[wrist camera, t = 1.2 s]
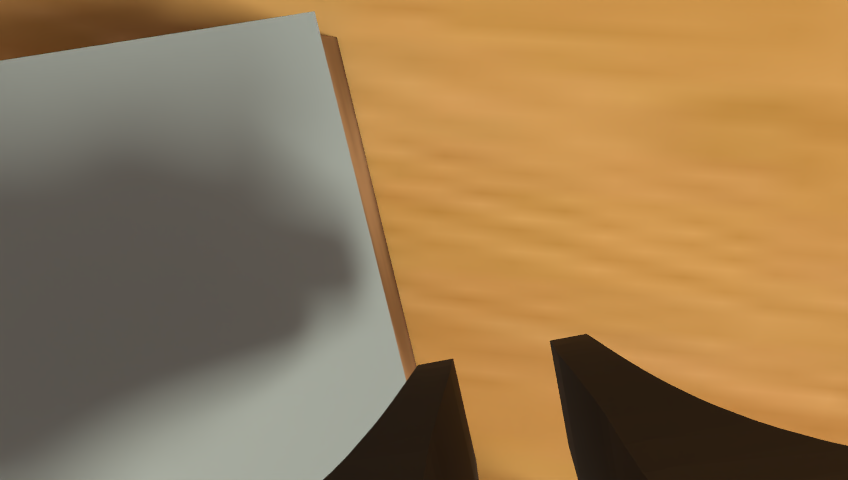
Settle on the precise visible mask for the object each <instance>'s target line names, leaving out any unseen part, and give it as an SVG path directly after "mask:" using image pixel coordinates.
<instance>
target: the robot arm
mask: <svg viewBox="0 0 848 480" xmlns="http://www.w3.org/2000/svg"><path fill="white" fill-rule="evenodd" d="M550 344H551V350H552V355H553V361H554V366H555V372H556V377H557V383H558V388H559V394H560V399H561V405H562V411H563V416H564V422H565V427H566V433H567V438H568V444H569V448H570V452H571V456H572V459H573V463H574V466H575V470H576V474H577V477H578V480H848V446H846V445H841V444H837V443H833V442H828V441H824V440H820V439H816V438H813V437H809V436H806V435H802V434H798V433H795V432H791V431H787V430H784V429H780V428H777V427H774V426H771V425H767V424H764V423H761V422H758V421H755V420H752V419H749V418H747V417H744V416H742V415H739V414H736V413H734V412H731V411H728V410H726V409H723V408H720V407H718V406H715V405H713V404H710V403H708V402H706V401H703V400H701V399H699V398H697V397H695V396H693V395H691V394H688V393H686V392H684V391H682V390H680V389H678V388H676V387H674V386H672V385H670V384H668V383H666V382H664V381H662V380H661V379H659V378H657V377H655V376H653V375H651V374H650V373H648V372H646V371H644V370H643V369H641V368H639V367H638V366H636V365H634V364H633V363H631V362H629V361H628V360H626V359H624V358H623V357H621V356H620V355H618V354H617V353H615V352H613V351H612V350H610V349H609V348H607V347H606V346H604V345H603V344H601V343H600V342H598V341H597V340H595V339H594V338H592V337H591V336H589V335H587V334H584V335H578V336H573V337H568V338H562V339H557V340H551V341H550ZM323 480H478V472H477V464H476V458H475V454H474V450H473V445H472V441H471V436H470V432H469V427H468V423H467V419H466V414H465V410H464V405H463V401H462V396H461V392H460V388H459V383H458V379H457V374H456V370H455V365H454V361H453V359H449V360H443V361H438V362H433V363H427V364H422V365H418V366H417V367H416V369H415V370H414V371H413V373H412V374H411V375H410V377H409V378H408V380H407V381H406V382H405V384H404V385H403V387H402V388H401V389H400V391H399V392H398V394H397V395H396V397H395V398H394V399H393V401H392V402H391V404H390V405H389V406H388V408H387V409H386V410H385V411H384V413H383V414H382V415H381V417H380V418H379V419H378V421H377V422H376V423H375V424H374V425H373V427H372V428H371V429H370V430H369V431H368V432H367V434H366V435H365V436H364V437H363V438H362V439H361V441H360V442H359V443H358V444H357V445H356V446H355V447H354V449H353V450H352V451H351V452H350V453H349V454H348V455H347V456H346V458H345V459H344V460H343V461H342V462H341V463H340V464H339V465H338V466H337V467H336V468H335V469H334V470H333V471H332V472H331V473H330V474H328V475H327V476H326V477H325V478H324V479H323Z"/></svg>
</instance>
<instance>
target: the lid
mask: <svg viewBox="0 0 848 480" xmlns="http://www.w3.org/2000/svg"><path fill="white" fill-rule="evenodd" d="M405 382H406V378H405V374H404V370H403V366H402V362H401V358H400V354H399V350H398V346H397V342H396V338H395V334H394V330H393V326H392V322H391V317H390V313H389V309H388V305H387V301H386V297H385V293H384V289H383V285H382V281H381V277H380V273H379V269H378V265H377V261H376V257H375V253H374V249H373V245H372V241H371V237H370V233H369V229H368V225H367V221H366V217H365V213H364V209H363V205H362V201H361V197H360V193H359V189H358V185H357V181H356V177H355V173H354V169H353V165H352V161H351V157H350V152H349V148H348V144H347V140H346V136H345V132H344V128H343V124H342V120H341V116H340V112H339V108H338V104H337V100H336V96H335V92H334V88H333V84H332V80H331V76H330V72H329V68H328V64H327V60H326V56H325V52H324V48H323V44H322V40H321V36H320V32H319V28H318V24H317V20H316V16H315V12H308V13H301V14H295V15H289V16H282V17H276V18H269V19H263V20H257V21H250V22H244V23H238V24H231V25H225V26H218V27H212V28H206V29H199V30H193V31H187V32H180V33H174V34H167V35H161V36H155V37H148V38H142V39H136V40H129V41H123V42H116V43H110V44H104V45H97V46H91V47H85V48H78V49H72V50H65V51H59V52H53V53H46V54H40V55H33V56H27V57H21V58H14V59H8V60H2V61H0V480H323V479H324V478H325V477H326V476H327V475H328V474H330V473H331V472H332V471H333V470H334V469H335V468H336V467H337V466H338V465H339V464H340V463H341V462H342V461H343V460H344V459H345V458H346V456H347V455H348V454H349V453H350V452H351V451H352V450H353V449H354V447H355V446H356V445H357V444H358V443H359V442H360V441H361V439H362V438H363V437H364V436H365V435H366V434H367V432H368V431H369V430H370V429H371V428H372V427H373V425H374V424H375V423H376V422H377V421H378V419H379V418H380V417H381V415H382V414H383V413H384V411H385V410H386V409H387V408H388V406H389V405H390V404H391V402H392V401H393V399H394V398H395V397H396V395H397V394H398V392H399V391H400V389H401V388H402V387H403V385H404V384H405Z"/></svg>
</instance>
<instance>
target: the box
mask: <svg viewBox="0 0 848 480" xmlns="http://www.w3.org/2000/svg"><path fill="white" fill-rule="evenodd" d="M320 36H321V40H322V44H323V48H324V52H325V56H326V60H327V64H328V68H329V72H330V76H331V80H332V84H333V88H334V92H335V96H336V100H337V104H338V108H339V112H340V116H341V120H342V124H343V128H344V132H345V136H346V140H347V144H348V148H349V152H350V157H351V161H352V165H353V169H354V173H355V177H356V181H357V185H358V189H359V193H360V197H361V201H362V205H363V209H364V213H365V217H366V221H367V225H368V229H369V233H370V237H371V241H372V245H373V249H374V253H375V257H376V261H377V265H378V269H379V273H380V277H381V281H382V285H383V289H384V293H385V297H386V301H387V305H388V309H389V313H390V317H391V322H392V326H393V330H394V334H395V338H396V342H397V346H398V350H399V354H400V358H401V362H402V366H403V370H404V374H405V378H406V381H407V380H408V378H409V377H410V375H411V374H412V373H413V371H414V370H415V369H416V363H415V359H414V354H413V350H412V346H411V342H410V338H409V334H408V330H407V326H406V321H405V317H404V313H403V309H402V305H401V301H400V297H399V293H398V288H397V284H396V280H395V276H394V272H393V268H392V264H391V260H390V255H389V251H388V247H387V243H386V239H385V235H384V231H383V227H382V222H381V218H380V214H379V210H378V206H377V202H376V198H375V194H374V189H373V185H372V181H371V177H370V173H369V169H368V165H367V161H366V156H365V152H364V148H363V144H362V140H361V136H360V132H359V128H358V123H357V119H356V115H355V111H354V107H353V103H352V99H351V95H350V90H349V86H348V82H347V78H346V74H345V70H344V66H343V61H342V57H341V53H340V49H339V45H338V41H337V37H330V36H323V35H320Z"/></svg>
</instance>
